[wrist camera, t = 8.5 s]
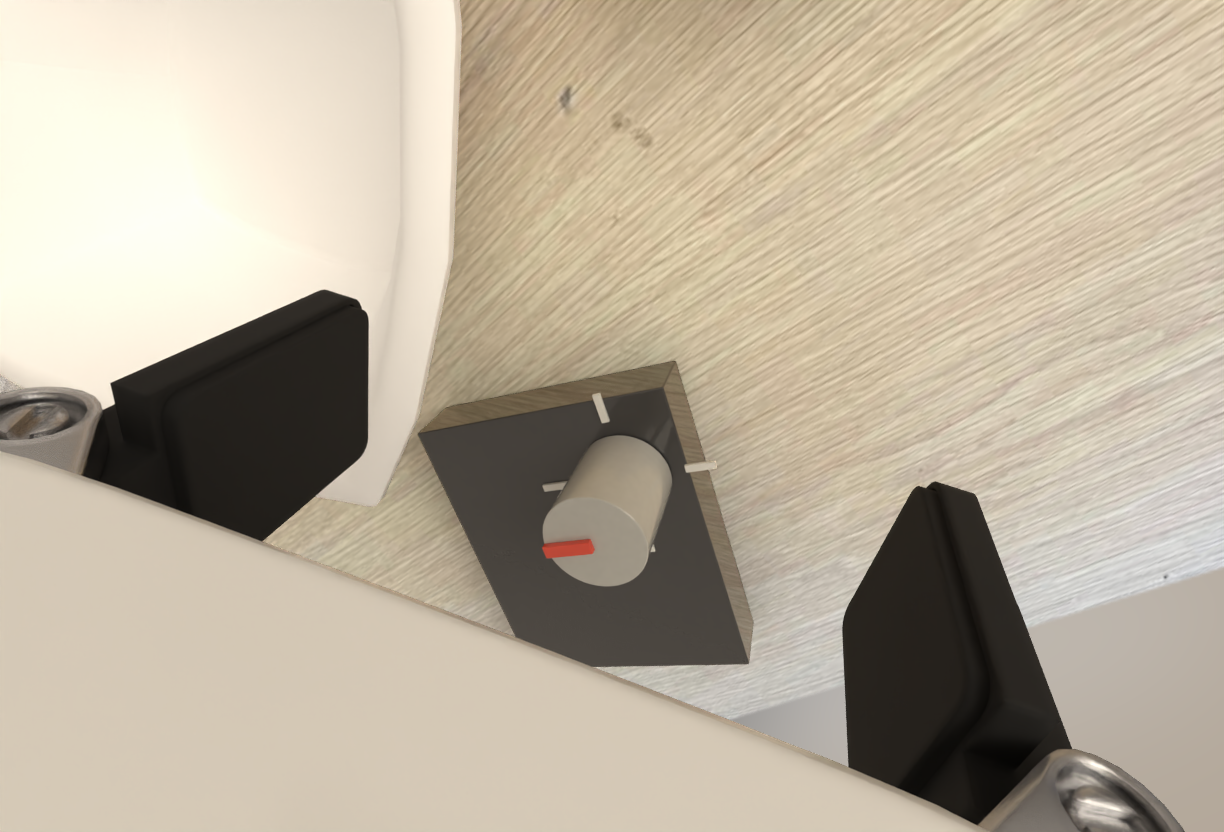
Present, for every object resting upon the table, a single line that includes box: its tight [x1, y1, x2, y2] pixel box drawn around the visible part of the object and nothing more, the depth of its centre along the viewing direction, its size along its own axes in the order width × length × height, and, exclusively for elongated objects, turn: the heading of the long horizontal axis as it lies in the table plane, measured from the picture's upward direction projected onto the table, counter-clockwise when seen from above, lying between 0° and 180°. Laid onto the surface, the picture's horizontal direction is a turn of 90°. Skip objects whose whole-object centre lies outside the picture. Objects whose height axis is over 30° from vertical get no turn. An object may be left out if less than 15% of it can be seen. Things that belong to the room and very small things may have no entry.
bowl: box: [0, 0, 462, 507], centre depth 25 cm, size 24×25×10 cm
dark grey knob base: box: [418, 361, 754, 667], centre depth 34 cm, size 16×14×3 cm
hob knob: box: [542, 435, 672, 586], centre depth 28 cm, size 4×4×5 cm
